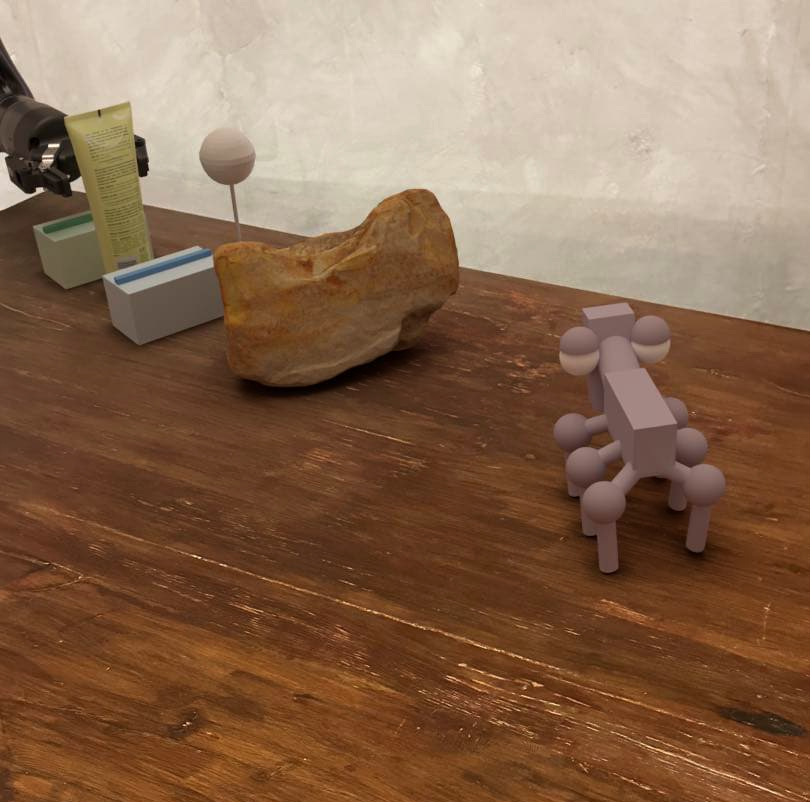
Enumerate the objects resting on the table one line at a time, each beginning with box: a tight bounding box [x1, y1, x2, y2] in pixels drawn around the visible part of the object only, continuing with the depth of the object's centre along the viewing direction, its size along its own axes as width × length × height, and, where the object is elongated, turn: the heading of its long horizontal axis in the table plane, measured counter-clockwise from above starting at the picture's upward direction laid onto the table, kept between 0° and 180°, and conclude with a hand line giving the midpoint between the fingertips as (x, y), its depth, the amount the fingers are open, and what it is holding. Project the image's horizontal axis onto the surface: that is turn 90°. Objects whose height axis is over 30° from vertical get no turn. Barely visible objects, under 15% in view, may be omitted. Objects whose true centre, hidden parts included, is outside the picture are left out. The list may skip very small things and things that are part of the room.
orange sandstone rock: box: [212, 188, 461, 388], centre depth 107 cm, size 23×17×15 cm
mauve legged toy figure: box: [552, 301, 727, 574], centre depth 85 cm, size 20×11×14 cm, turn 6°
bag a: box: [101, 245, 224, 346], centre depth 115 cm, size 11×6×6 cm, turn 127°
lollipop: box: [198, 127, 257, 242], centre depth 124 cm, size 6×6×15 cm
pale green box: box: [32, 209, 155, 290], centre depth 127 cm, size 11×6×6 cm, turn 127°
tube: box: [64, 100, 151, 274], centre depth 118 cm, size 6×5×20 cm
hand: (106, 177), depth 116 cm, fingers open, 8 cm apart
